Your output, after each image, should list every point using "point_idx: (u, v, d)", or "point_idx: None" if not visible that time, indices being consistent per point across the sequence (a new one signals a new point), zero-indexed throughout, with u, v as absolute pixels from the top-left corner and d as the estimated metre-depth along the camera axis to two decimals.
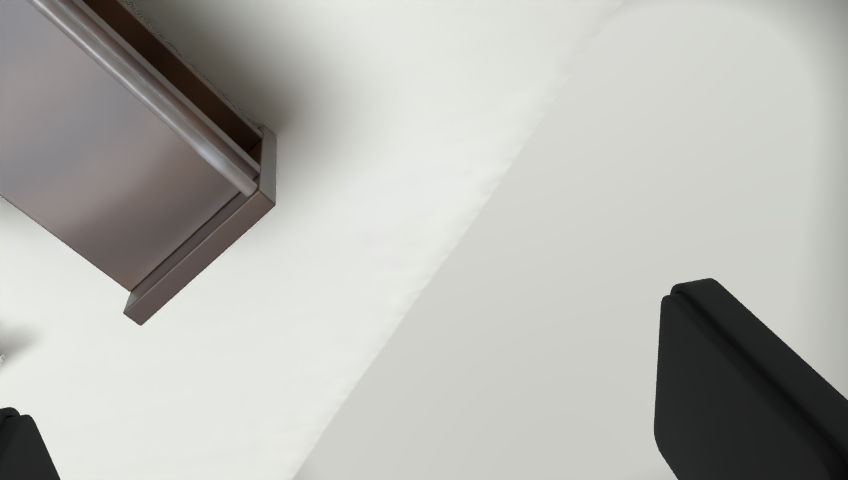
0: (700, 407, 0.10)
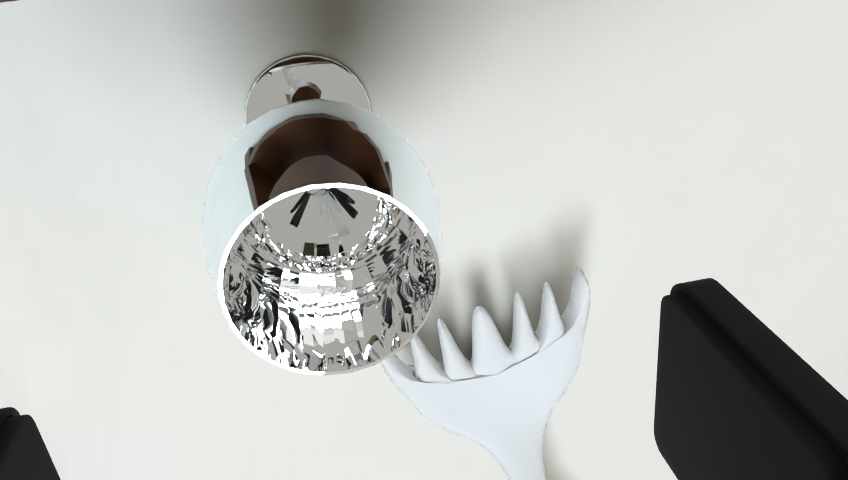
0: (700, 407, 0.10)
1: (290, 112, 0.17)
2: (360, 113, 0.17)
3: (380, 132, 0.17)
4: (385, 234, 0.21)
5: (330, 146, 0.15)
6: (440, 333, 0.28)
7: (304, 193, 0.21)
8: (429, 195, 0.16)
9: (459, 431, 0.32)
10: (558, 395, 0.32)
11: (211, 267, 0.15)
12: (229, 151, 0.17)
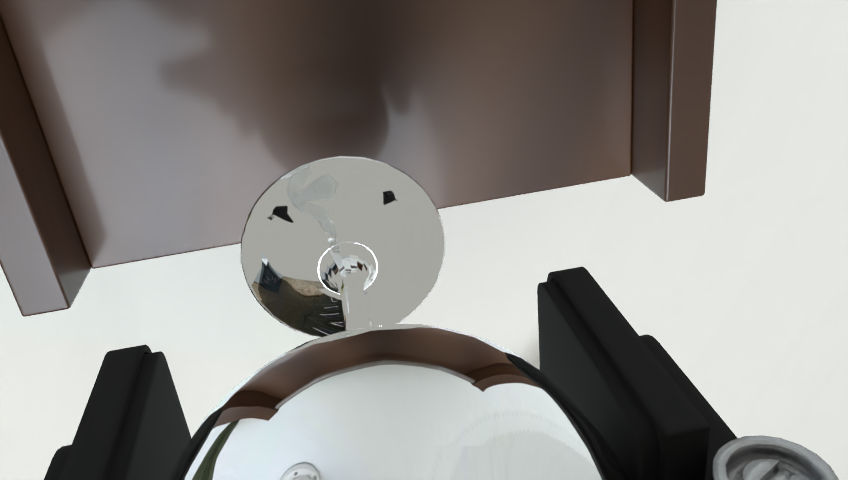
0: (566, 387, 0.11)
1: (337, 406, 0.07)
2: (502, 395, 0.07)
3: (562, 462, 0.07)
4: None
5: None
6: None
7: None
8: None
9: None
10: None
11: None
12: None
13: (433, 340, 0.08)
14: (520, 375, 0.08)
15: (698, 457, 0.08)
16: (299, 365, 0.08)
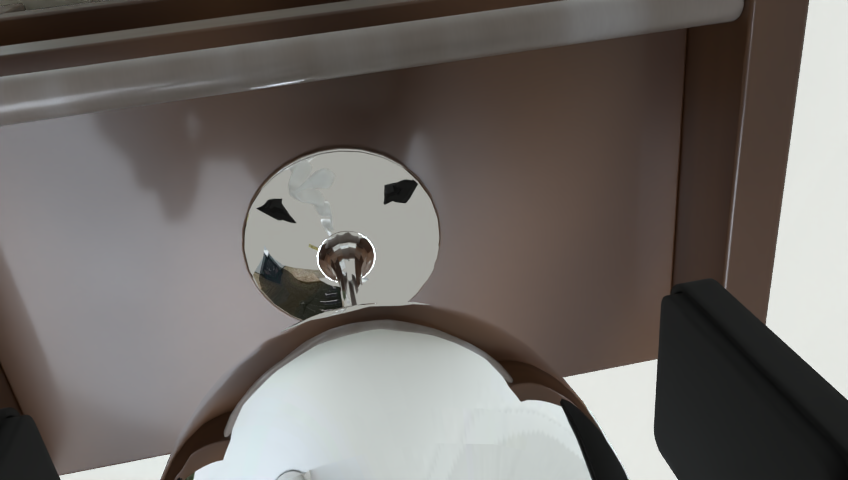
0: (700, 407, 0.10)
1: (334, 373, 0.07)
2: (490, 364, 0.08)
3: (545, 425, 0.07)
4: None
5: None
6: None
7: None
8: None
9: None
10: None
11: None
12: (193, 465, 0.07)
13: (425, 315, 0.08)
14: (508, 348, 0.08)
15: None
16: (298, 338, 0.08)
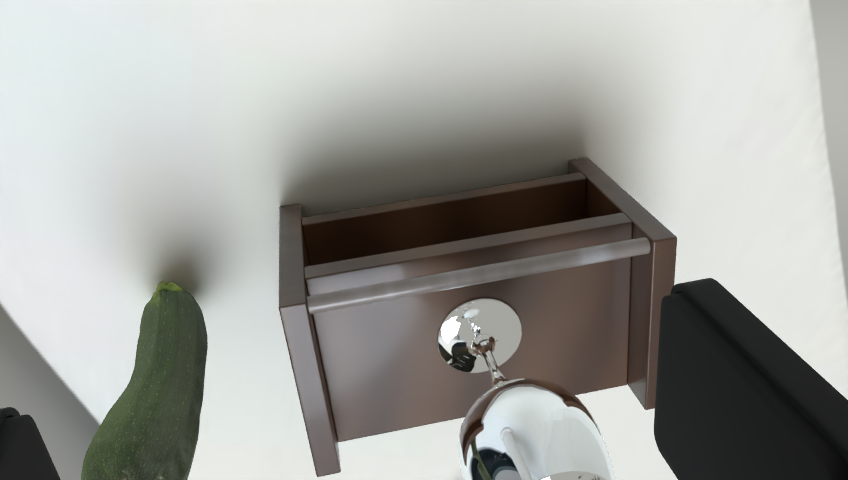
0: (700, 407, 0.10)
1: (522, 402, 0.28)
2: (562, 399, 0.28)
3: (577, 416, 0.27)
4: None
5: (558, 439, 0.26)
6: None
7: None
8: (609, 456, 0.27)
9: None
10: None
11: None
12: (485, 426, 0.28)
13: (541, 384, 0.29)
14: (565, 393, 0.29)
15: None
16: (505, 391, 0.29)
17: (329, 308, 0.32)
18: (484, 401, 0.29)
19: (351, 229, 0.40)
